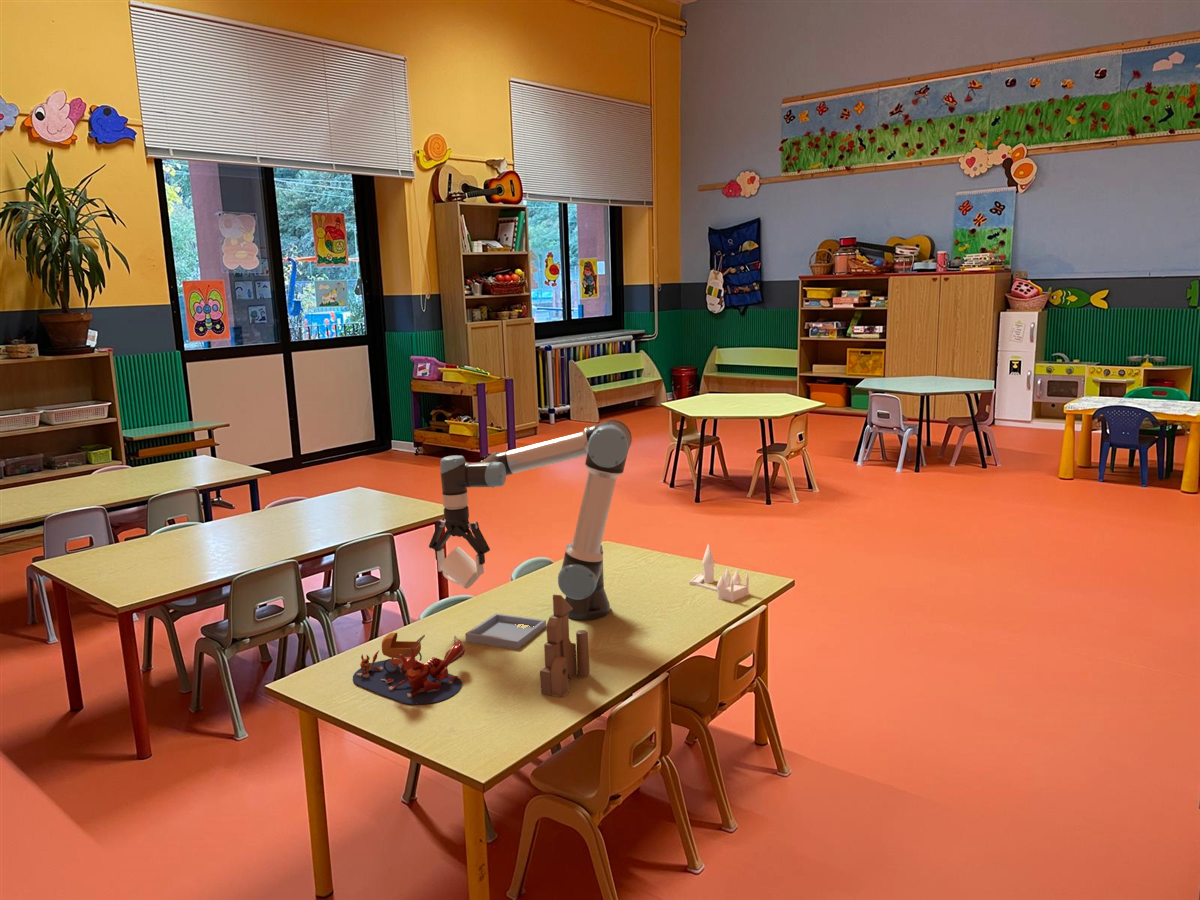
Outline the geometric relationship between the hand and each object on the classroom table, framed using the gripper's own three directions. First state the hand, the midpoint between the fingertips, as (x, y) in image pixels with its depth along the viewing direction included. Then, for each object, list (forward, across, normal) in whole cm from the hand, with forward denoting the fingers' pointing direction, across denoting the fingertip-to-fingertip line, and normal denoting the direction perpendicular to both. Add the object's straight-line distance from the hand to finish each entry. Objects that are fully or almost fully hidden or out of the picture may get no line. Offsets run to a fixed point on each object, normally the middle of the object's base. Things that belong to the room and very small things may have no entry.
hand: (461, 573), depth 275 cm
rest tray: (+18, -15, 0) cm, 24 cm away
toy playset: (+19, -6, +34) cm, 39 cm away
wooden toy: (+19, -48, +24) cm, 57 cm away
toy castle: (+20, -64, -56) cm, 87 cm away
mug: (+3, -4, -1) cm, 5 cm away
